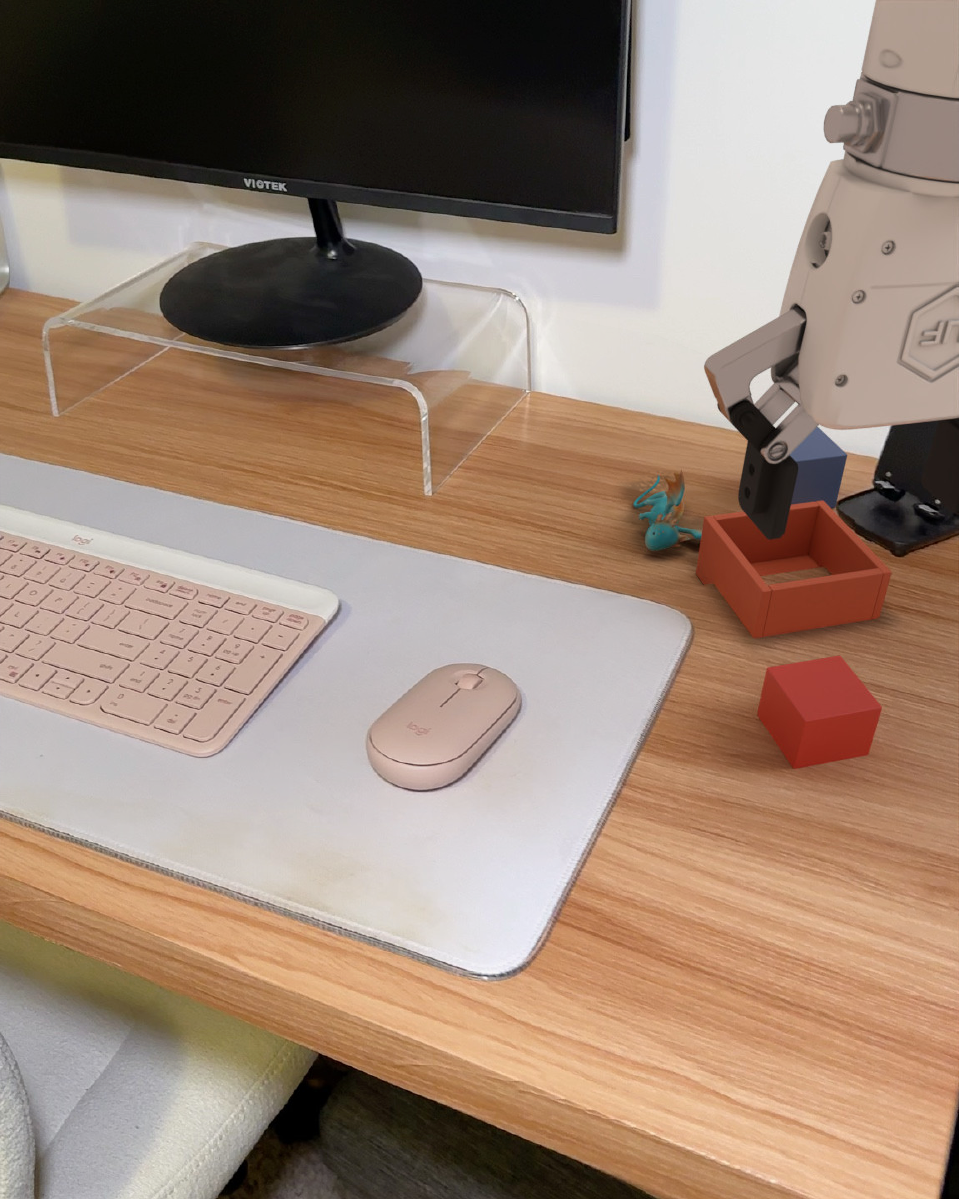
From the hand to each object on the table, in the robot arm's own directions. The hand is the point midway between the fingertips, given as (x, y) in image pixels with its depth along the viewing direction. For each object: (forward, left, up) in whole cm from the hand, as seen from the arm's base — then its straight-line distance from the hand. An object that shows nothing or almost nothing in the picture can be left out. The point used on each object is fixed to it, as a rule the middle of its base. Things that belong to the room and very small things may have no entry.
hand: (854, 511), depth 53 cm
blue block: (-13, -25, -16) cm, 33 cm away
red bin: (-6, -13, -16) cm, 22 cm away
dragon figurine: (-2, -23, -16) cm, 28 cm away
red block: (-1, 0, -16) cm, 16 cm away
